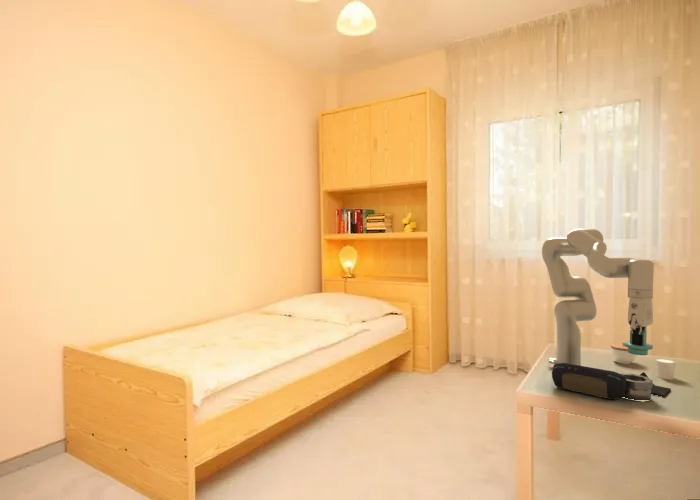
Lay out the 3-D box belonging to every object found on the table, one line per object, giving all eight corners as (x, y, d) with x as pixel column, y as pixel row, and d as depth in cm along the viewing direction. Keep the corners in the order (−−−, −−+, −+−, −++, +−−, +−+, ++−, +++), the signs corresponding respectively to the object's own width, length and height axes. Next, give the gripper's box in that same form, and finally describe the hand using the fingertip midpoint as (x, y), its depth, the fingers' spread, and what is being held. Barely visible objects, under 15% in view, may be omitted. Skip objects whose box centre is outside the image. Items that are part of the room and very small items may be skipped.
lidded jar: (629, 366, 198) (629, 346, 198) (605, 361, 207) (606, 341, 207) (641, 363, 203) (642, 343, 203) (618, 358, 213) (618, 339, 212)
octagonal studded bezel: (612, 395, 161) (612, 377, 161) (624, 389, 167) (624, 371, 167) (644, 404, 153) (644, 384, 153) (655, 397, 159) (655, 378, 159)
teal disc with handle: (619, 352, 157) (619, 330, 157) (629, 348, 162) (629, 326, 162) (646, 358, 150) (647, 334, 150) (656, 353, 155) (657, 331, 155)
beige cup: (678, 380, 179) (679, 363, 178) (660, 379, 180) (660, 362, 180) (670, 375, 185) (670, 359, 185) (652, 374, 187) (652, 358, 187)
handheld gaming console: (671, 394, 158) (651, 369, 163) (652, 403, 161) (633, 378, 166) (672, 390, 167) (653, 366, 172) (654, 398, 170) (636, 375, 175)
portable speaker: (548, 389, 168) (548, 364, 168) (555, 382, 176) (555, 358, 176) (623, 405, 152) (623, 377, 151) (628, 397, 159) (628, 370, 159)
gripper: (643, 297, 147) (641, 350, 148) (660, 293, 157) (659, 343, 158) (619, 294, 153) (617, 345, 154) (637, 290, 163) (636, 339, 164)
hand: (638, 344), depth 156 cm, fingers closed on teal disc with handle
